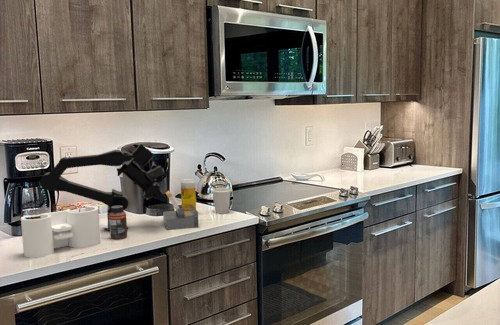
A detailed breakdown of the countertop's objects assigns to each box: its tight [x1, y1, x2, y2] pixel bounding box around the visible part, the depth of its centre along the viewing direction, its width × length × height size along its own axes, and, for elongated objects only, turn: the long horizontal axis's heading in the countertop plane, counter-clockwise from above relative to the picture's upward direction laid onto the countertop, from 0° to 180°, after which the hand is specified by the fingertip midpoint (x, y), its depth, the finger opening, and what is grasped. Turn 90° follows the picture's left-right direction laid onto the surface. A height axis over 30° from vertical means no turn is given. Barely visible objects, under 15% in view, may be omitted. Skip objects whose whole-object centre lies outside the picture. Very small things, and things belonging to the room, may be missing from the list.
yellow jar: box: [180, 178, 197, 210], centre depth 210 cm, size 6×6×15 cm
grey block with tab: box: [162, 204, 199, 231], centre depth 193 cm, size 12×14×7 cm
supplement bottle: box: [109, 205, 128, 240], centre depth 176 cm, size 6×6×11 cm
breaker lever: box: [165, 190, 179, 213], centre depth 192 cm, size 2×5×9 cm, turn 15°
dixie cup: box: [211, 187, 232, 215], centre depth 213 cm, size 8×8×10 cm
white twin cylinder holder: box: [20, 205, 101, 259], centre depth 164 cm, size 25×10×12 cm, turn 132°
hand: (166, 201), depth 191 cm, fingers closed
